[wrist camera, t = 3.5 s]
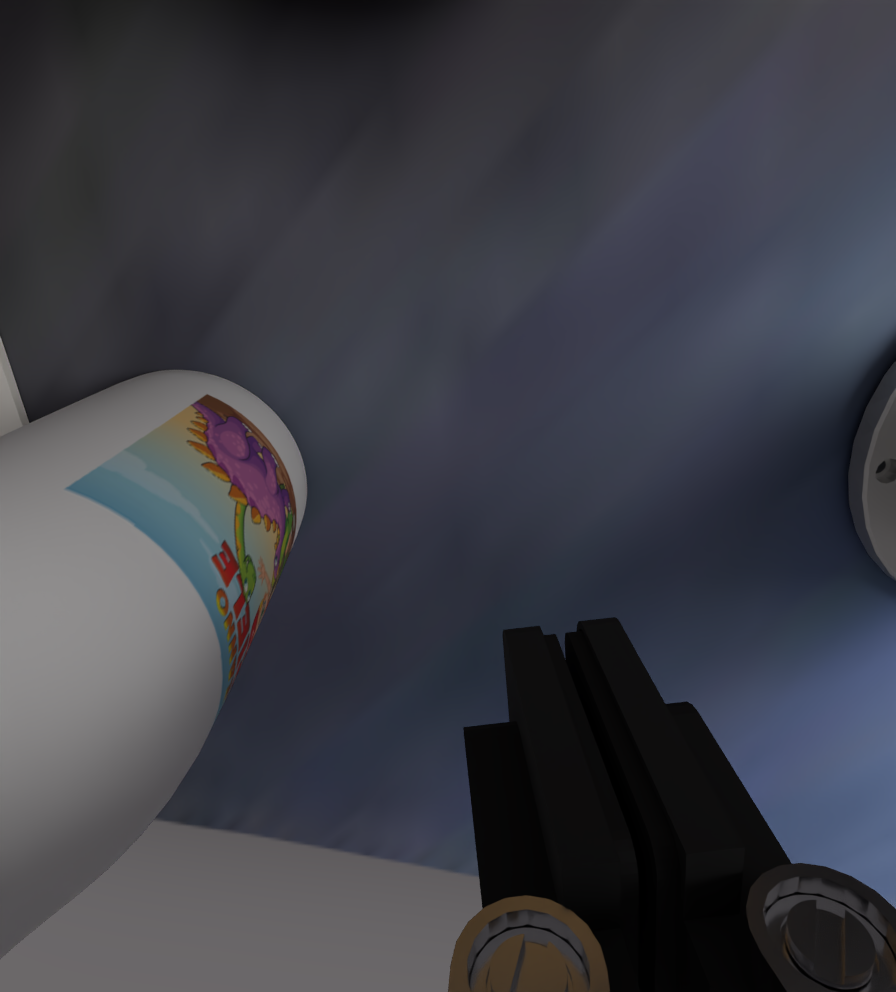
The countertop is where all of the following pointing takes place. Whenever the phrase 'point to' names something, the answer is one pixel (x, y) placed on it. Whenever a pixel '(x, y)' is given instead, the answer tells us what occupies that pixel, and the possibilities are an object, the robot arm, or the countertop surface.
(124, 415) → the milk bottle
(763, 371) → the countertop surface
